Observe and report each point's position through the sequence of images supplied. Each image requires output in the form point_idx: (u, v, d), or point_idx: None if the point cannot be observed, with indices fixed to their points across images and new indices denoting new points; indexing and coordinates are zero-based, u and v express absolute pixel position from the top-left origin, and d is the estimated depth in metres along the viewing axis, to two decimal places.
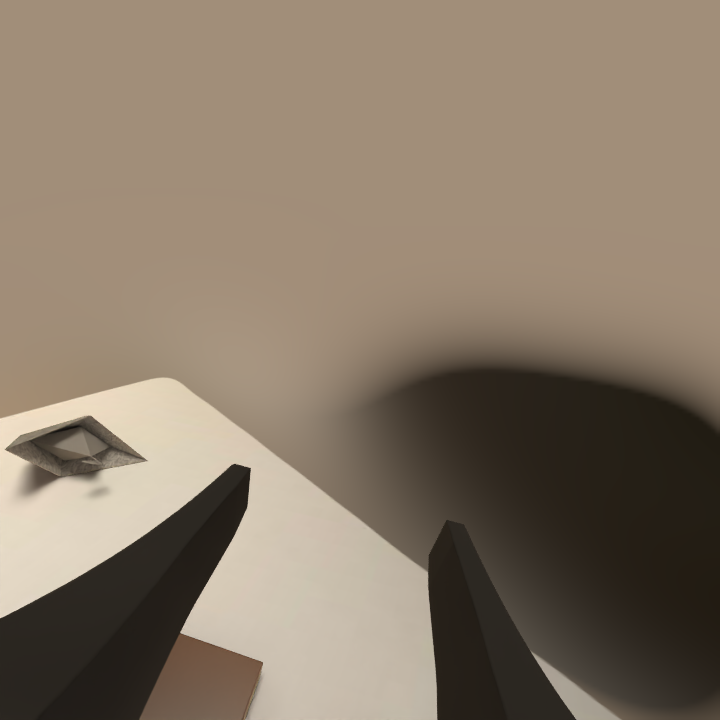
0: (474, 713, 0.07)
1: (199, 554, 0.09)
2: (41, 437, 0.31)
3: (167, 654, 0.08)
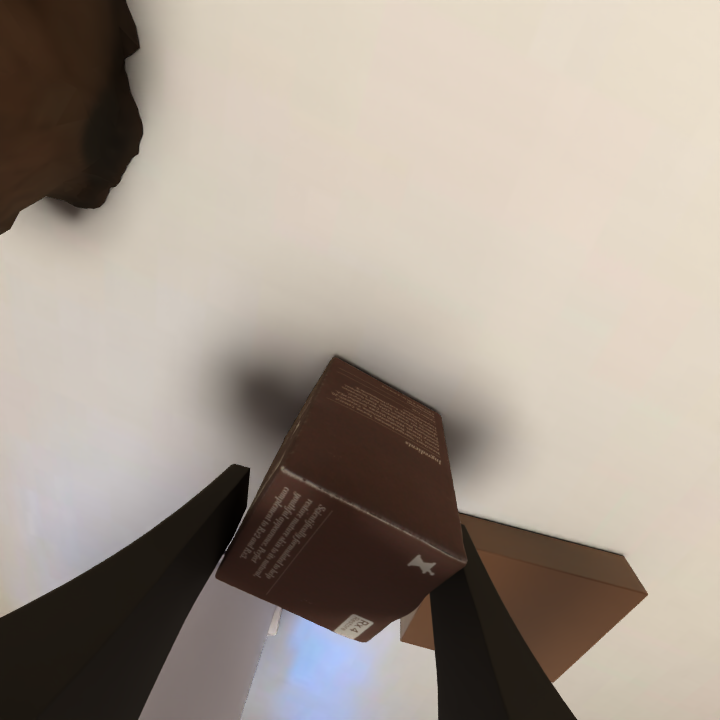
0: (475, 714, 0.07)
1: (198, 554, 0.09)
2: None
3: (166, 654, 0.08)
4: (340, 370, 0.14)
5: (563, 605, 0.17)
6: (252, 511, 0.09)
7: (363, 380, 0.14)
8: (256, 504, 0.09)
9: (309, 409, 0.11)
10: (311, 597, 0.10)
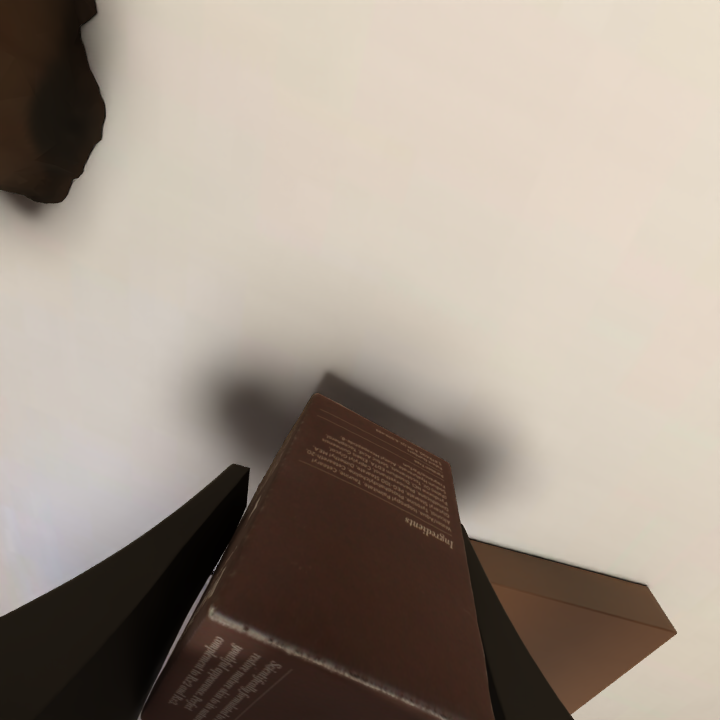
0: None
1: (198, 554, 0.09)
2: None
3: (166, 654, 0.08)
4: (322, 413, 0.11)
5: (581, 641, 0.15)
6: (177, 655, 0.06)
7: (351, 425, 0.11)
8: (181, 648, 0.06)
9: (271, 484, 0.08)
10: None
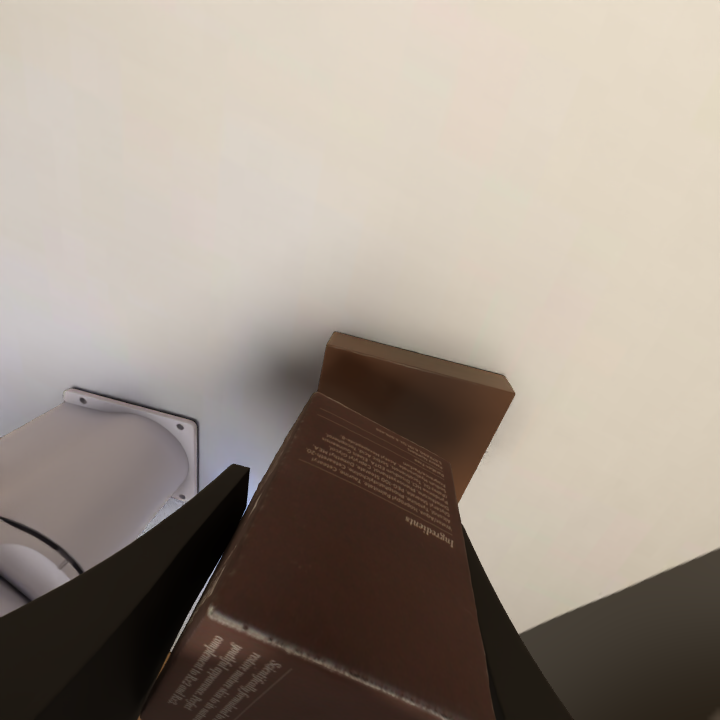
0: None
1: (198, 554, 0.09)
2: None
3: (166, 654, 0.08)
4: (322, 412, 0.11)
5: (440, 416, 0.17)
6: (176, 654, 0.06)
7: (351, 424, 0.11)
8: (180, 647, 0.06)
9: (271, 482, 0.08)
10: None
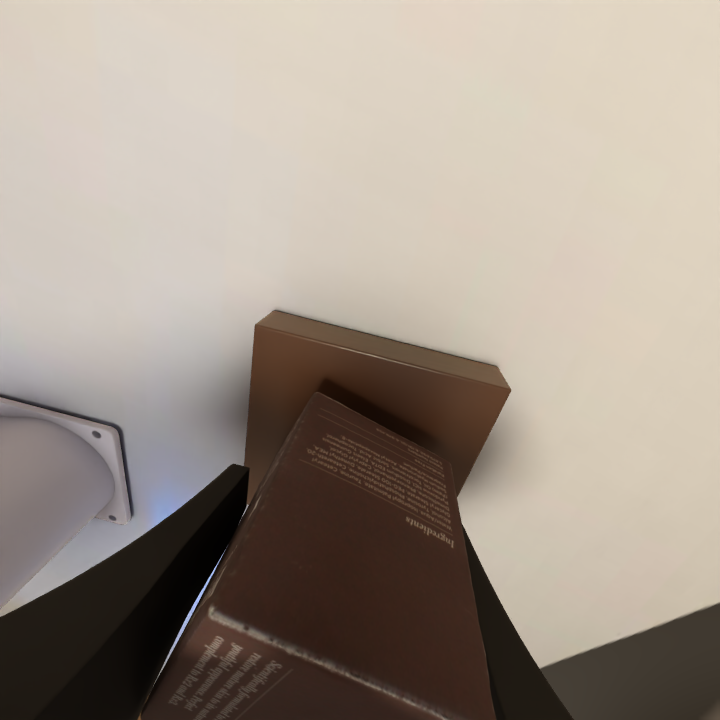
0: None
1: (198, 554, 0.09)
2: None
3: (166, 654, 0.08)
4: (322, 412, 0.11)
5: (412, 420, 0.13)
6: (176, 654, 0.06)
7: (352, 424, 0.11)
8: (181, 647, 0.06)
9: (271, 483, 0.08)
10: None
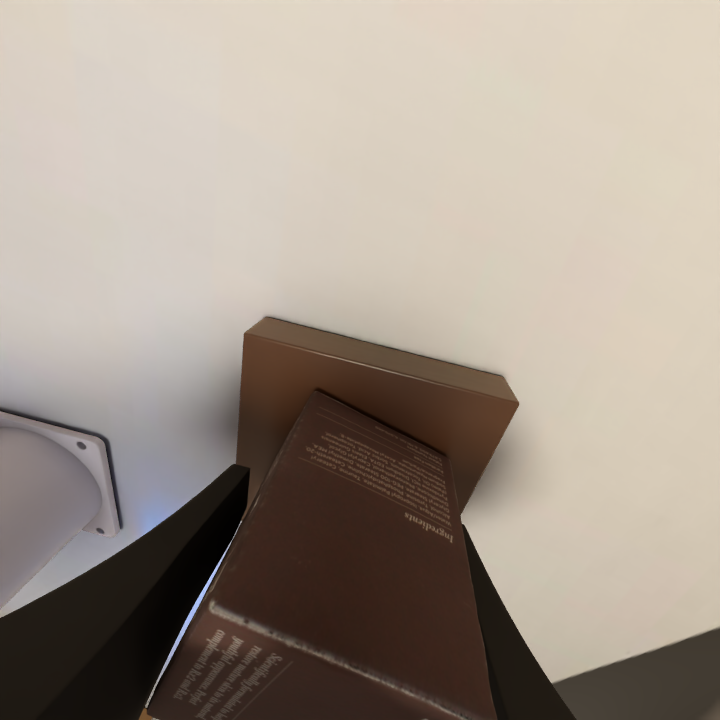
0: None
1: (199, 554, 0.09)
2: None
3: (167, 654, 0.08)
4: (321, 411, 0.11)
5: (412, 435, 0.12)
6: (180, 649, 0.06)
7: (350, 422, 0.11)
8: (183, 642, 0.06)
9: (271, 480, 0.08)
10: None
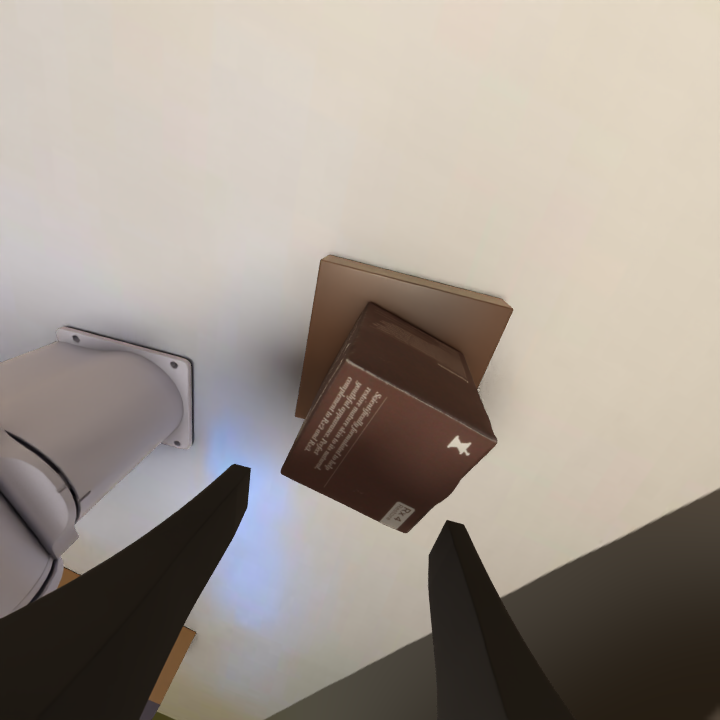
0: (474, 713, 0.07)
1: (199, 554, 0.09)
2: None
3: (167, 654, 0.08)
4: (376, 311, 0.15)
5: (437, 337, 0.17)
6: (318, 404, 0.11)
7: (396, 320, 0.16)
8: (322, 397, 0.11)
9: (358, 331, 0.13)
10: (362, 487, 0.12)
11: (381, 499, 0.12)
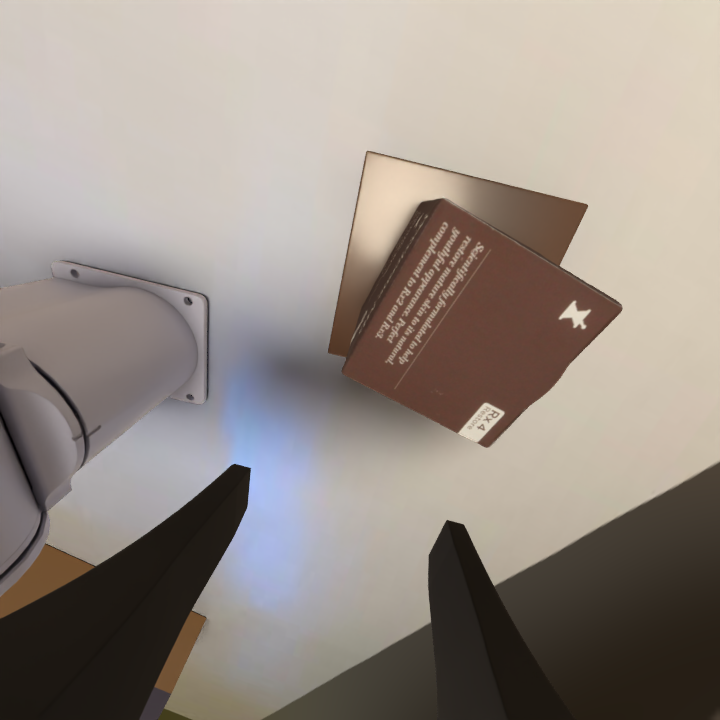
0: (474, 713, 0.07)
1: (199, 554, 0.09)
2: None
3: (167, 654, 0.08)
4: None
5: None
6: (399, 269, 0.09)
7: None
8: (405, 258, 0.09)
9: (432, 200, 0.10)
10: (443, 385, 0.10)
11: (464, 401, 0.10)
